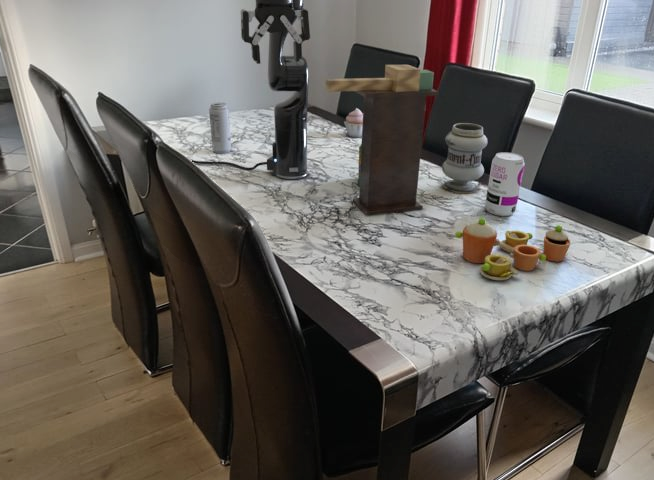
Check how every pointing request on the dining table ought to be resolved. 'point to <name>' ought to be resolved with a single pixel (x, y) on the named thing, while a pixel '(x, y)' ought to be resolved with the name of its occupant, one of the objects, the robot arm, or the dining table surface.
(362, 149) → the stand
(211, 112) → the energy drink can
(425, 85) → the block
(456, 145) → the apothecary jar
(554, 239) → the toy tea set
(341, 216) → the dining table surface
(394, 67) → the mallet
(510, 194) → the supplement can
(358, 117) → the cupcake
